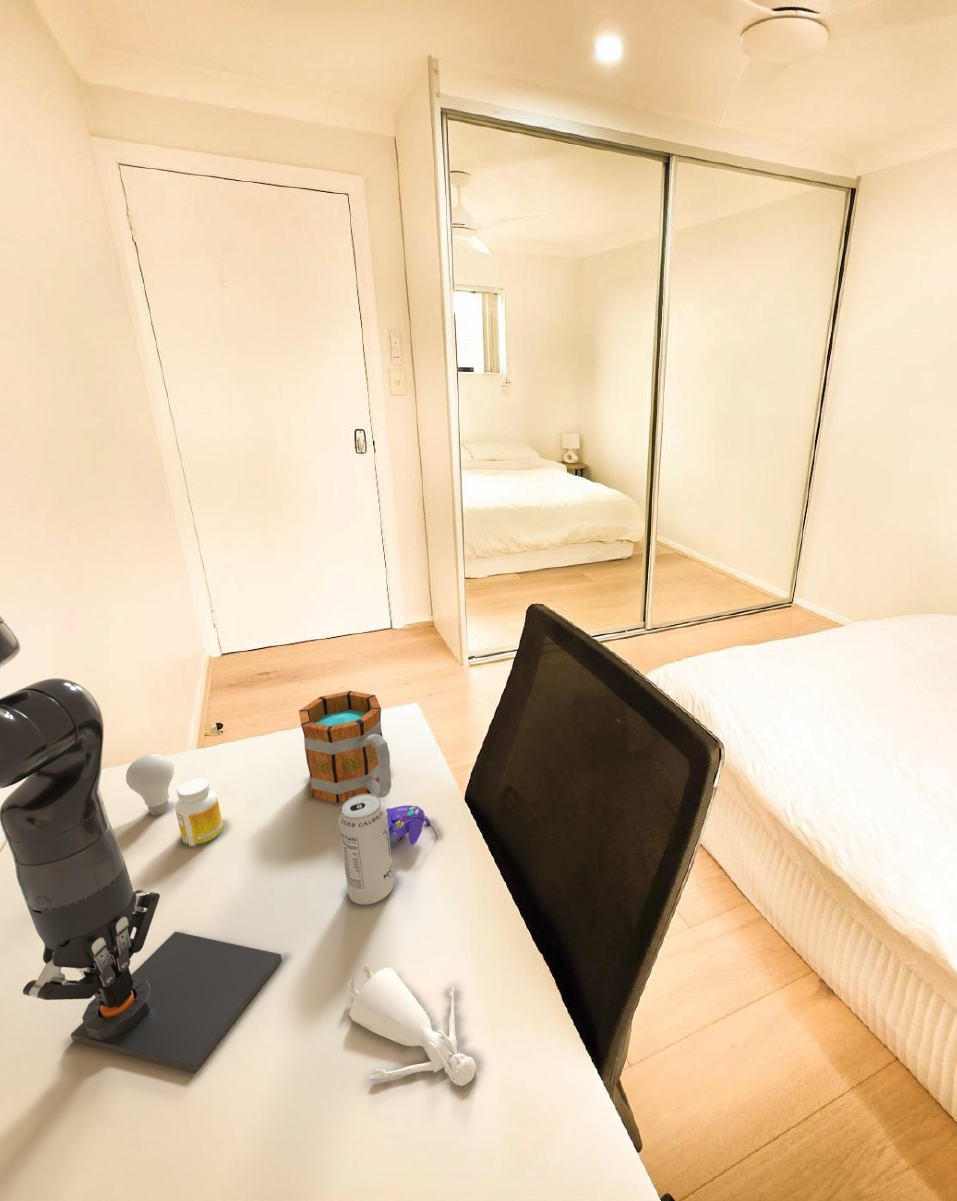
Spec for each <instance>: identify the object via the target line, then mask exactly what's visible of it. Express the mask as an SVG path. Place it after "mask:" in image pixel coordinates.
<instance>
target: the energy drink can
mask: <svg viewBox="0 0 957 1201" xmlns="http://www.w3.org/2000/svg"><path fill="white" fill-rule="evenodd" d="M386 809H387V807H386V806H385V805H384V803H382V800H381V798H379V797H378V796H376V795H374V794H372V793H371V794H360V795H357V796H354V797H352V798H350V799H349V800H347V801H344V802H343V805H342V807H341V813H340V815H339V816H338V820H337V821H338V828H339V835H340V836H339V837H340V843H341V850H342V857H343V863H344V865H343V866H344V871H345V872H344V873H345V878H346V884H347V893H348V897H349V900H351V902H353V903H355V904H357V905H365V906H366V905H372V904H376V903H378V902H381V901H382V900H384V899H385V898H386V897H387V896H388V895H389V894H390V893H391V892H392V890H393V888H394V887H395V878H394V869H393V859H392V850H391V842H390V840H391V839H390V836H389V830H388V820H387V811H386Z"/></svg>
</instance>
